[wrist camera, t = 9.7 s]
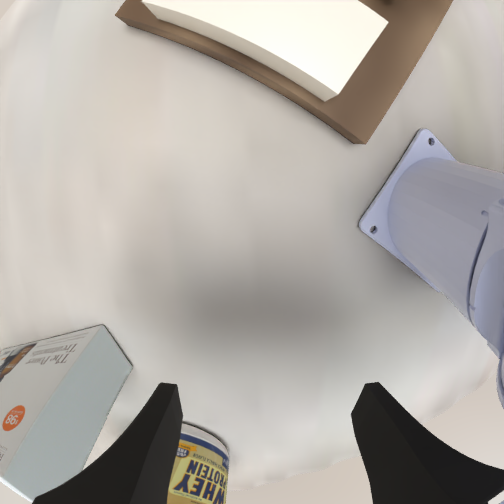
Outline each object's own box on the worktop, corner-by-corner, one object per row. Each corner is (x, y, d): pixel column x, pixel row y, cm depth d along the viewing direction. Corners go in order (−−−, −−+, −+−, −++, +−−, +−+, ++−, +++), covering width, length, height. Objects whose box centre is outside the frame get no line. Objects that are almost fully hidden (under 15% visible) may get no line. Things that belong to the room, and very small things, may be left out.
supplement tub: (251, 453, 27) (248, 577, 11) (180, 467, 30) (164, 566, 14) (176, 403, 24) (140, 563, 8) (111, 424, 26) (71, 535, 11)
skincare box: (101, 316, 20) (0, 479, 5) (135, 365, 22) (73, 525, 7) (0, 345, 23) (-62, 425, 8) (24, 377, 25) (-28, 460, 10)
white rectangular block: (369, 36, 11) (388, 22, 8) (324, 101, 12) (338, 94, 10) (210, -41, 9) (203, -64, 6) (157, 18, 10) (141, 1, 8)
